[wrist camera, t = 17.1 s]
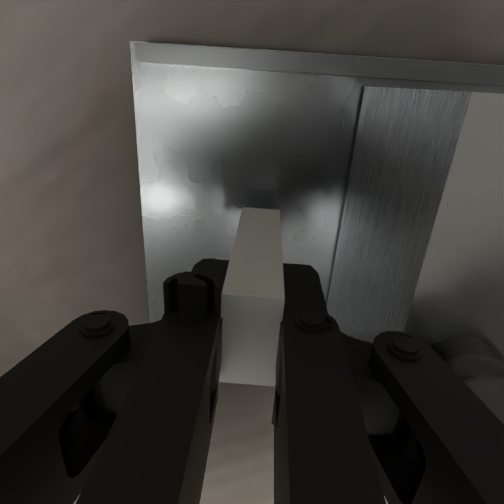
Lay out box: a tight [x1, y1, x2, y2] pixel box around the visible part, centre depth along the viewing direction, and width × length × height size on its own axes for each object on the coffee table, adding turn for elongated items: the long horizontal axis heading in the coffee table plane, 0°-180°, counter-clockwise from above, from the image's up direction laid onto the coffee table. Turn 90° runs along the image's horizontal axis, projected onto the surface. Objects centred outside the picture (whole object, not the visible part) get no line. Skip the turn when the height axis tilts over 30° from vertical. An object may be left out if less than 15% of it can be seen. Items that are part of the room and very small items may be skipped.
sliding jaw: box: [327, 86, 504, 504], centre depth 12 cm, size 4×12×10 cm, turn 177°
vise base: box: [130, 41, 504, 323], centre depth 13 cm, size 26×14×10 cm, turn 87°
